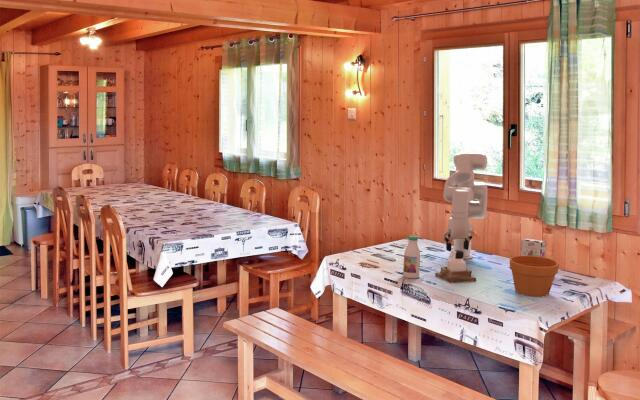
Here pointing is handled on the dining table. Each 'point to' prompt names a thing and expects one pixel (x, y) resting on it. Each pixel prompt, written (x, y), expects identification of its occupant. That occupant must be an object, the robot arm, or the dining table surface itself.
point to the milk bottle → (411, 258)
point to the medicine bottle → (456, 261)
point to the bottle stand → (455, 275)
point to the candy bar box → (533, 247)
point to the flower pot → (533, 274)
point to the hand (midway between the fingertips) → (457, 250)
